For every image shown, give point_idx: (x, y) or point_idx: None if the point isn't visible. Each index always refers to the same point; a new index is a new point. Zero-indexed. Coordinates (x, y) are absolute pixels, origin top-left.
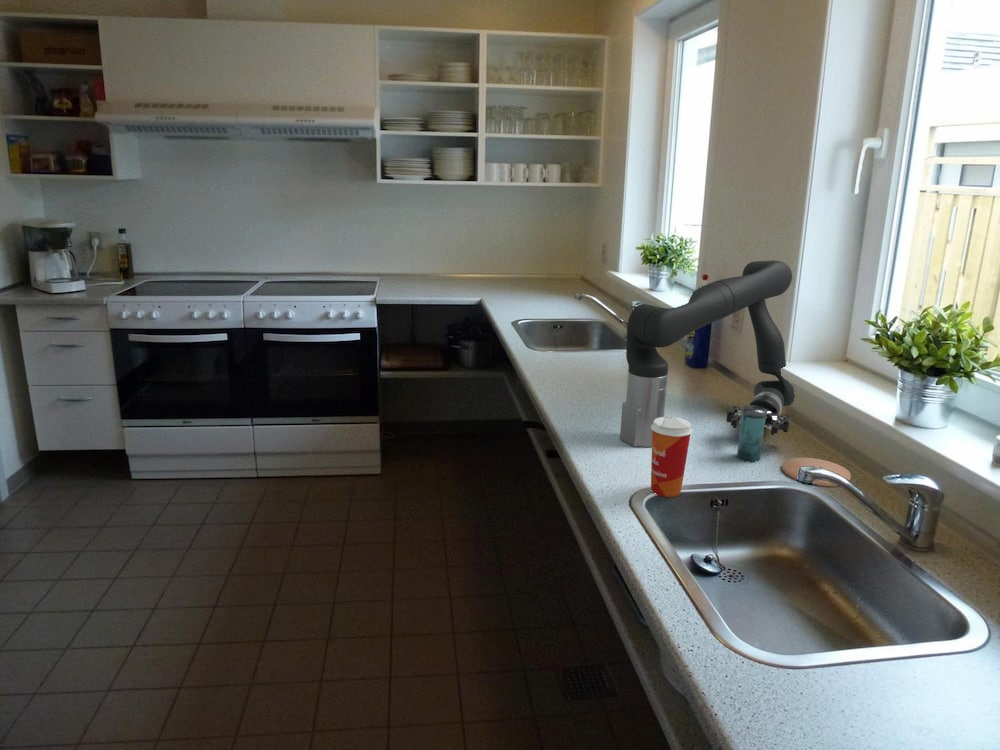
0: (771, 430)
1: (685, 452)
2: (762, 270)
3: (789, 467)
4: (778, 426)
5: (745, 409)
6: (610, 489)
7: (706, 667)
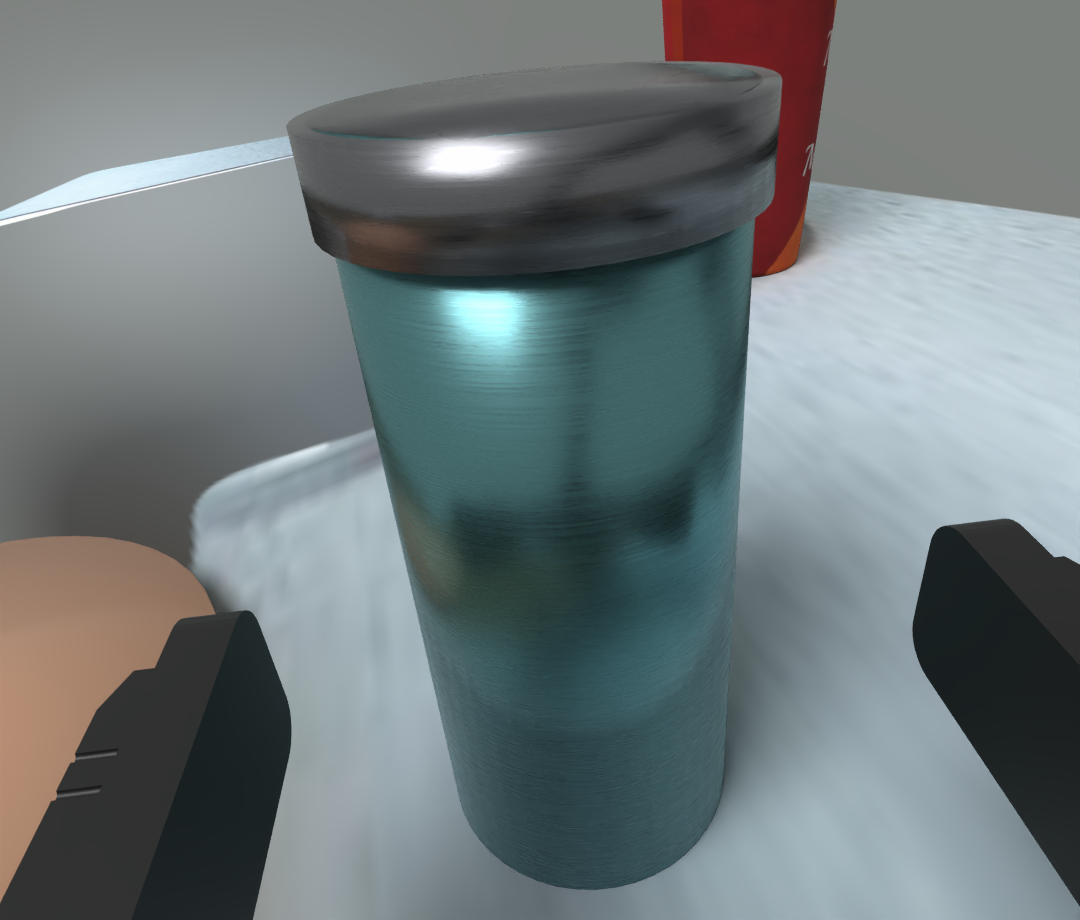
0: (266, 656)
1: (665, 55)
2: None
3: (156, 644)
4: (77, 770)
5: (646, 64)
6: (885, 212)
7: None
